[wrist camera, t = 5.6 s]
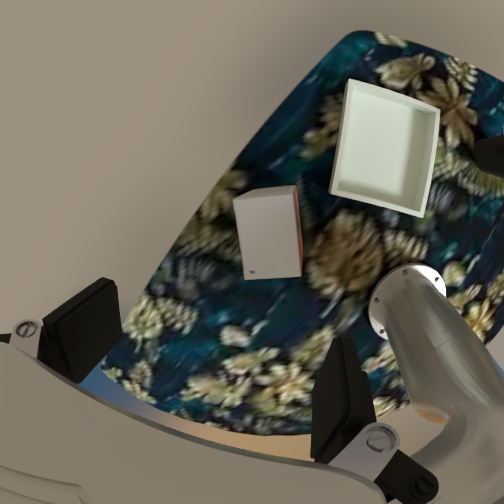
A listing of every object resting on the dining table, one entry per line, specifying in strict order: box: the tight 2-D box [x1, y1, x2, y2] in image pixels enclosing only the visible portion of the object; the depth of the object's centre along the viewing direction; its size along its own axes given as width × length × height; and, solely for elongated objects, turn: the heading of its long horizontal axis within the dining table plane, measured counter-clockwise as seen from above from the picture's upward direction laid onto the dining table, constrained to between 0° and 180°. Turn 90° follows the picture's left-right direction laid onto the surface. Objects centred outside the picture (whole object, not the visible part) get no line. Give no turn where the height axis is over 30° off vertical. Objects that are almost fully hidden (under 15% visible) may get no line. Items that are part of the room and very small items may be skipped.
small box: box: [232, 185, 303, 280], centre depth 29 cm, size 8×6×10 cm
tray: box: [328, 79, 440, 218], centre depth 27 cm, size 12×14×3 cm
